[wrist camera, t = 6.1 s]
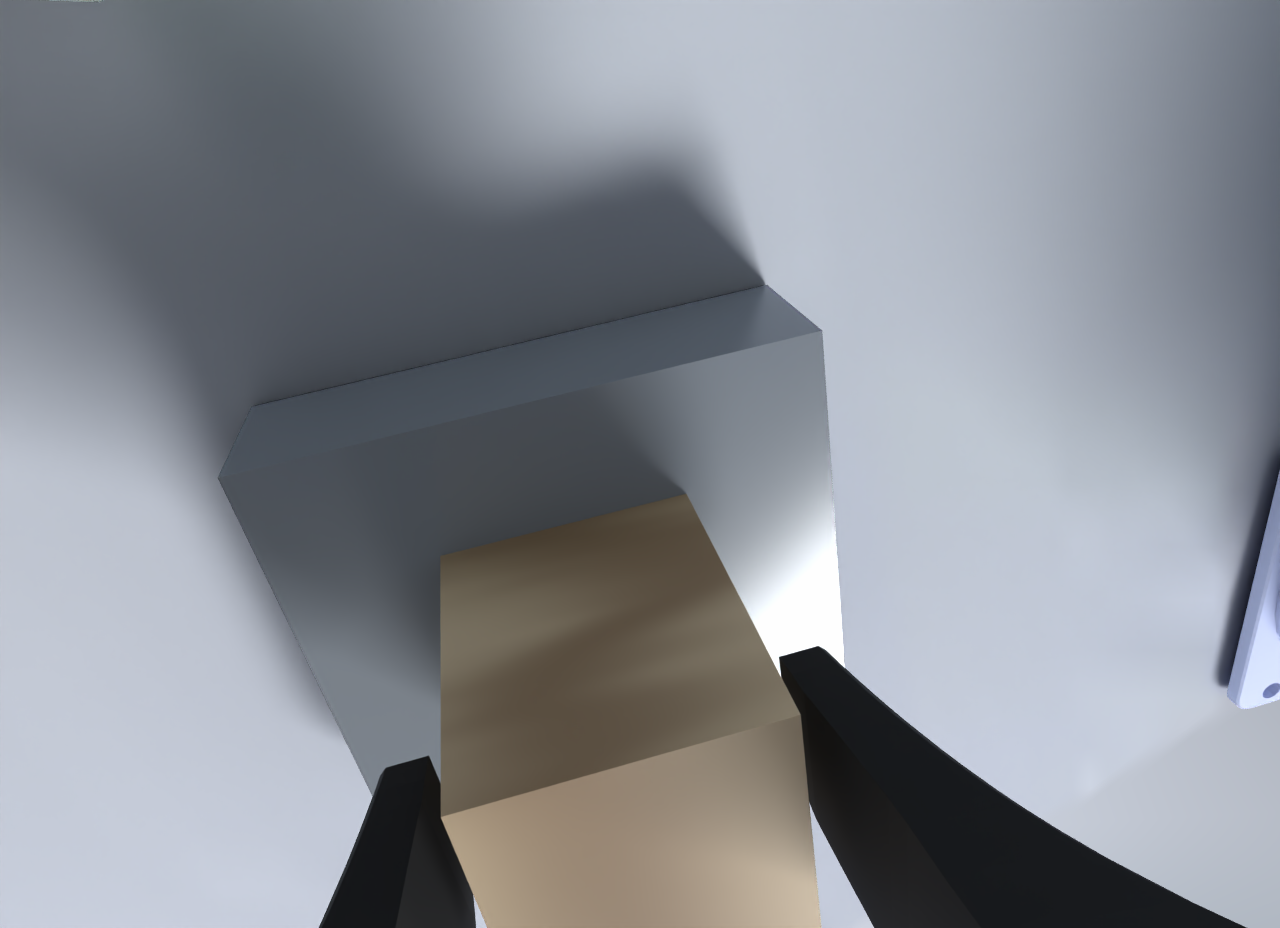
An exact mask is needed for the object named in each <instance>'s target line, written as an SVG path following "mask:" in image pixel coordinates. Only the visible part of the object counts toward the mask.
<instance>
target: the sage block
mask: <svg viewBox="0 0 1280 928" xmlns="http://www.w3.org/2000/svg"><path fill="white" fill-rule="evenodd" d="M51 1H79V2H102V1H103V0H51Z"/></svg>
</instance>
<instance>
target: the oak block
mask: <svg viewBox="0 0 1280 928" xmlns="http://www.w3.org/2000/svg"><path fill="white" fill-rule="evenodd" d="M440 632H441V819H442V821H443V824H444V826H445V828H446V831H447V833H448V836H449V838H450V840H451V843H452V845H453V847H454V850H455V852H456V854H457V857H458V859H459V862H460V864H461V866H462V869H463V871H464V873H465V876H466V878H467V881H468V883H469V885H470V888H471V890H472V892H473V895H474V897H475V900H476V902H477V904H478V907H479V909H480V911H481V914H482V916H483V919H484V921H485V923H486V926H487V928H821V919H820V909H819V899H818V888H817V878H816V868H815V858H814V847H813V837H812V827H811V816H810V806H809V796H808V785H807V775H806V765H805V754H804V744H803V734H802V723H801V714H800V713H799V711H798V709H797V707H796V705H795V703H794V701H793V699H792V697H791V695H790V693H789V691H788V689H787V687H786V685H785V683H784V682H783V680H782V678H781V676H780V674H779V672H778V670H777V668H776V666H775V664H774V662H773V660H772V658H771V656H770V654H769V653H768V651H767V649H766V647H765V645H764V643H763V641H762V639H761V637H760V635H759V633H758V631H757V629H756V627H755V625H754V623H753V622H752V620H751V618H750V616H749V614H748V612H747V610H746V608H745V606H744V604H743V602H742V600H741V598H740V596H739V594H738V592H737V591H736V589H735V587H734V585H733V583H732V581H731V579H730V577H729V575H728V573H727V571H726V569H725V567H724V565H723V563H722V561H721V560H720V558H719V556H718V554H717V552H716V550H715V548H714V546H713V544H712V542H711V540H710V538H709V536H708V534H707V532H706V531H705V529H704V527H703V525H702V523H701V521H700V519H699V517H698V515H697V513H696V511H695V509H694V507H693V505H692V503H691V501H690V500H689V498H688V496H687V494H683V495H679V496H675V497H671V498H668V499H664V500H660V501H656V502H652V503H648V504H644V505H640V506H636V507H632V508H628V509H624V510H620V511H616V512H612V513H608V514H604V515H600V516H596V517H592V518H589V519H585V520H581V521H577V522H573V523H569V524H565V525H561V526H557V527H553V528H549V529H545V530H541V531H537V532H533V533H529V534H525V535H521V536H517V537H513V538H510V539H506V540H502V541H498V542H494V543H490V544H486V545H482V546H478V547H474V548H470V549H466V550H462V551H458V552H454V553H450V554H446V555H442V556H440Z"/></svg>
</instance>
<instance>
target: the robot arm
mask: <svg viewBox="0 0 1280 928" xmlns="http://www.w3.org/2000/svg"><path fill="white" fill-rule="evenodd" d="M779 663H780V672H781V678H782V680H783V682H784V683H785V685H786V687H787V689H788V691H789V693H790V695H791V697H792V699H793V701H794V703H795V705H796V707H797V709H798V711H799V713H800V714H801V723H802V734H803V744H804V754H805V765H806V775H807V785H808V796H809V802H810V805H811V807H812V810H813V812H814V815H815V817H816V819H817V821H818V823H819V825H820V827H821V829H822V831H823V833H824V835H825V837H826V838H827V840H828V842H829V844H830V846H831V848H832V850H833V852H834V854H835V855H836V857H837V859H838V861H839V863H840V865H841V867H842V869H843V870H844V872H845V874H846V876H847V878H848V880H849V882H850V883H851V885H852V887H853V889H854V891H855V893H856V895H857V896H858V898H859V900H860V902H861V904H862V906H863V908H864V910H865V911H866V913H867V915H868V917H869V919H870V921H871V923H872V924H873V926H874V928H1246V927H1244V926H1242V925H1240V924H1238V923H1235V922H1233V921H1231V920H1229V919H1227V918H1224V917H1223V916H1220V915H1218V914H1216V913H1214V912H1212V911H1210V910H1207V909H1205V908H1203V907H1201V906H1199V905H1197V904H1194V903H1192V902H1190V901H1189V900H1187V899H1184V898H1183V897H1181V896H1179V895H1177V894H1175V893H1173V892H1171V891H1169V890H1167V889H1165V888H1164V887H1162V886H1160V885H1158V884H1155V883H1154V882H1152V881H1150V880H1148V879H1146V878H1144V877H1142V876H1141V875H1139V874H1137V873H1135V872H1133V871H1131V870H1129V869H1127V868H1125V867H1123V866H1121V865H1119V864H1117V863H1116V862H1114V861H1111V860H1110V859H1108V858H1106V857H1104V856H1103V855H1101V854H1099V853H1097V852H1096V851H1094V850H1092V849H1090V848H1089V847H1087V846H1085V845H1084V844H1082V843H1080V842H1078V841H1077V840H1075V839H1073V838H1072V837H1070V836H1068V835H1067V834H1065V833H1063V832H1061V831H1060V830H1058V829H1056V828H1055V827H1053V826H1052V825H1050V824H1049V823H1047V822H1045V821H1044V820H1042V819H1041V818H1039V817H1037V816H1036V815H1034V814H1033V813H1031V812H1029V811H1028V810H1026V809H1025V808H1023V807H1022V806H1020V805H1019V804H1017V803H1016V802H1014V801H1013V800H1011V799H1010V798H1008V797H1007V796H1005V795H1004V794H1002V793H1001V792H999V791H998V790H996V789H995V788H994V787H992V786H991V785H989V784H988V783H986V782H985V781H984V780H982V779H981V778H979V777H978V776H977V775H975V774H974V773H973V772H971V771H970V770H968V769H967V768H966V767H964V766H963V765H961V764H960V763H959V762H957V761H956V760H955V759H953V758H952V757H951V756H949V755H948V754H947V753H945V752H944V751H943V750H941V749H940V748H939V747H938V746H936V745H935V744H934V743H933V742H931V741H930V740H929V739H928V738H926V737H925V736H924V735H923V734H921V733H920V732H919V731H918V730H916V729H915V728H914V727H912V726H911V725H910V724H909V723H907V722H906V721H905V720H904V719H903V718H901V717H900V716H899V715H898V714H897V713H895V712H894V711H893V710H892V709H891V708H889V707H888V706H887V705H886V704H885V703H884V702H882V701H881V700H880V699H879V698H878V697H877V696H876V695H874V694H873V693H872V692H871V691H870V690H869V689H868V688H866V687H865V686H864V685H863V684H862V683H861V682H860V681H859V680H858V679H856V678H855V677H854V676H853V675H852V674H851V673H850V672H849V671H848V670H847V669H846V668H845V667H843V666H842V665H841V664H840V663H839V662H838V661H837V660H836V659H835V658H834V657H833V656H832V655H831V654H830V653H829V652H828V651H827V650H825V649H824V648H822V647H820V646H815V647H812V648H808V649H805V650H801V651H798V652H794V653H791V654H787V655H783V656H780V657H779ZM1227 697H1228V698H1229V699H1230V700H1231V701H1232V702H1233V703H1234V704H1235V705H1237V706H1238V707H1239V708H1242V709H1248V708H1253V707H1256V706H1260V705H1263V704H1266V703H1269V702H1273V701H1276V700H1279V699H1280V471H1279V475H1278V479H1277V483H1276V488H1275V492H1274V496H1273V500H1272V504H1271V509H1270V513H1269V517H1268V521H1267V526H1266V530H1265V534H1264V538H1263V542H1262V547H1261V551H1260V555H1259V559H1258V564H1257V568H1256V572H1255V576H1254V580H1253V585H1252V589H1251V593H1250V597H1249V601H1248V606H1247V610H1246V614H1245V618H1244V623H1243V627H1242V631H1241V635H1240V639H1239V644H1238V648H1237V652H1236V656H1235V660H1234V665H1233V669H1232V673H1231V677H1230V682H1229V686H1228V690H1227ZM319 928H476V921H475V910H474V899H473V892H472V890H471V888H470V885H469V883H468V881H467V878H466V876H465V873H464V871H463V869H462V866H461V864H460V862H459V859H458V857H457V854H456V852H455V850H454V847H453V845H452V843H451V840H450V838H449V836H448V833H447V831H446V828H445V826H444V824H443V821H442V819H441V783H440V781H439V778H438V776H437V773H436V771H435V769H434V766H433V764H432V762H431V759H430V757H429V756H425V757H422V758H418V759H415V760H411V761H407V762H404V763H400V764H397V765H393V766H390V767H386V768H385V769H384V771H383V772H382V774H381V775H380V777H379V780H378V783H377V786H376V789H375V792H374V794H373V797H372V800H371V803H370V805H369V808H368V811H367V813H366V816H365V819H364V821H363V824H362V827H361V829H360V832H359V834H358V837H357V839H356V842H355V844H354V847H353V849H352V852H351V854H350V857H349V859H348V862H347V864H346V867H345V869H344V871H343V874H342V876H341V878H340V880H339V883H338V885H337V887H336V890H335V892H334V894H333V897H332V899H331V901H330V903H329V906H328V908H327V910H326V913H325V915H324V917H323V920H322V922H321V924H320V926H319Z"/></svg>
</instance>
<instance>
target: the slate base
mask: <svg viewBox="0 0 1280 928" xmlns="http://www.w3.org/2000/svg"><path fill="white" fill-rule="evenodd" d="M218 479H219V481H220V483H221V485H222V487H223V490H224V492H225V494H226V496H227V498H228V500H229V502H230V504H231V506H232V508H233V510H234V512H235V514H236V516H237V518H238V520H239V522H240V525H241V527H242V529H243V531H244V533H245V535H246V537H247V539H248V541H249V543H250V545H251V547H252V549H253V551H254V553H255V555H256V557H257V560H258V562H259V564H260V566H261V568H262V570H263V572H264V574H265V576H266V578H267V580H268V582H269V584H270V586H271V588H272V590H273V592H274V595H275V597H276V599H277V601H278V603H279V605H280V607H281V609H282V611H283V613H284V615H285V617H286V619H287V621H288V623H289V625H290V627H291V630H292V632H293V634H294V636H295V638H296V640H297V642H298V644H299V646H300V648H301V650H302V652H303V654H304V656H305V658H306V660H307V662H308V665H309V667H310V669H311V671H312V673H313V675H314V677H315V679H316V681H317V683H318V685H319V687H320V689H321V691H322V693H323V695H324V697H325V699H326V702H327V704H328V706H329V708H330V710H331V712H332V714H333V716H334V718H335V720H336V722H337V724H338V726H339V728H340V730H341V732H342V734H343V737H344V739H345V741H346V743H347V745H348V747H349V749H350V751H351V753H352V755H353V757H354V759H355V761H356V763H357V765H358V767H359V769H360V772H361V774H362V776H363V778H364V780H365V782H366V784H367V786H368V788H369V790H370V792H371V794H372V796H373V794H374V792H375V789H376V786H377V783H378V780H379V777H380V775H381V774H382V772H383V771H384V769H385V768H386V767H390V766H393V765H397V764H400V763H404V762H407V761H411V760H415V759H418V758H422V757H425V756H429V757H430V759H431V762H432V764H433V766H434V769H435V771H436V773H437V776H438V778H439V781H440V783H441V632H440V556H442V555H446V554H450V553H454V552H458V551H462V550H466V549H470V548H474V547H478V546H482V545H486V544H490V543H494V542H498V541H502V540H506V539H510V538H513V537H517V536H521V535H525V534H529V533H533V532H537V531H541V530H545V529H549V528H553V527H557V526H561V525H565V524H569V523H573V522H577V521H581V520H585V519H589V518H592V517H596V516H600V515H604V514H608V513H612V512H616V511H620V510H624V509H628V508H632V507H636V506H640V505H644V504H648V503H652V502H656V501H660V500H664V499H668V498H671V497H675V496H679V495H683V494H687V496H688V498H689V500H690V501H691V503H692V505H693V507H694V509H695V511H696V513H697V515H698V517H699V519H700V521H701V523H702V525H703V527H704V529H705V531H706V532H707V534H708V536H709V538H710V540H711V542H712V544H713V546H714V548H715V550H716V552H717V554H718V556H719V558H720V560H721V561H722V563H723V565H724V567H725V569H726V571H727V573H728V575H729V577H730V579H731V581H732V583H733V585H734V587H735V589H736V591H737V592H738V594H739V596H740V598H741V600H742V602H743V604H744V606H745V608H746V610H747V612H748V614H749V616H750V618H751V620H752V622H753V623H754V625H755V627H756V629H757V631H758V633H759V635H760V637H761V639H762V641H763V643H764V645H765V647H766V649H767V651H768V653H769V654H770V656H771V658H772V660H773V662H774V664H775V666H776V668H777V670H778V672H779V674H780V676H781V672H780V663H779V657H780V656H783V655H787V654H791V653H794V652H798V651H801V650H805V649H808V648H812V647H815V646H820V647H822V648H824V649H825V650H827V651H828V652H829V653H830V654H831V655H832V656H833V657H834V658H835V659H836V660H837V661H838V662H839V663H840V664H841V665H842V666H843V667H845V665H844V650H843V635H842V620H841V605H840V590H839V575H838V560H837V545H836V530H835V515H834V500H833V485H832V470H831V455H830V441H829V426H828V411H827V396H826V381H825V366H824V351H823V336H822V330H821V329H820V328H818V327H817V326H816V325H815V324H814V323H812V322H811V321H810V320H809V319H808V318H806V317H805V316H804V315H803V314H801V313H800V312H799V311H798V310H797V309H795V308H794V307H793V306H792V305H791V304H789V303H788V302H787V301H786V300H785V299H783V298H782V297H781V296H780V295H779V294H777V293H776V292H775V291H774V290H773V289H771V288H770V287H769V286H768V285H764V286H760V287H756V288H752V289H747V290H743V291H739V292H735V293H730V294H726V295H722V296H718V297H714V298H709V299H705V300H701V301H697V302H692V303H688V304H684V305H680V306H676V307H671V308H667V309H663V310H659V311H654V312H650V313H646V314H642V315H637V316H633V317H629V318H625V319H621V320H616V321H612V322H608V323H604V324H599V325H595V326H591V327H587V328H583V329H578V330H574V331H570V332H566V333H561V334H557V335H553V336H549V337H545V338H540V339H536V340H532V341H528V342H523V343H519V344H515V345H511V346H506V347H502V348H498V349H494V350H490V351H485V352H481V353H477V354H473V355H468V356H464V357H460V358H456V359H452V360H447V361H443V362H439V363H435V364H430V365H426V366H422V367H418V368H413V369H409V370H405V371H401V372H397V373H392V374H388V375H384V376H380V377H375V378H371V379H367V380H363V381H359V382H354V383H350V384H346V385H342V386H337V387H333V388H329V389H325V390H321V391H316V392H312V393H308V394H304V395H299V396H295V397H291V398H287V399H282V400H278V401H274V402H270V403H266V404H261V405H257V406H253V407H251V409H250V411H249V413H248V416H247V418H246V420H245V422H244V424H243V426H242V428H241V430H240V432H239V435H238V437H237V439H236V441H235V443H234V445H233V447H232V449H231V451H230V453H229V456H228V458H227V460H226V462H225V464H224V466H223V468H222V470H221V472H220V474H219V477H218Z"/></svg>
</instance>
